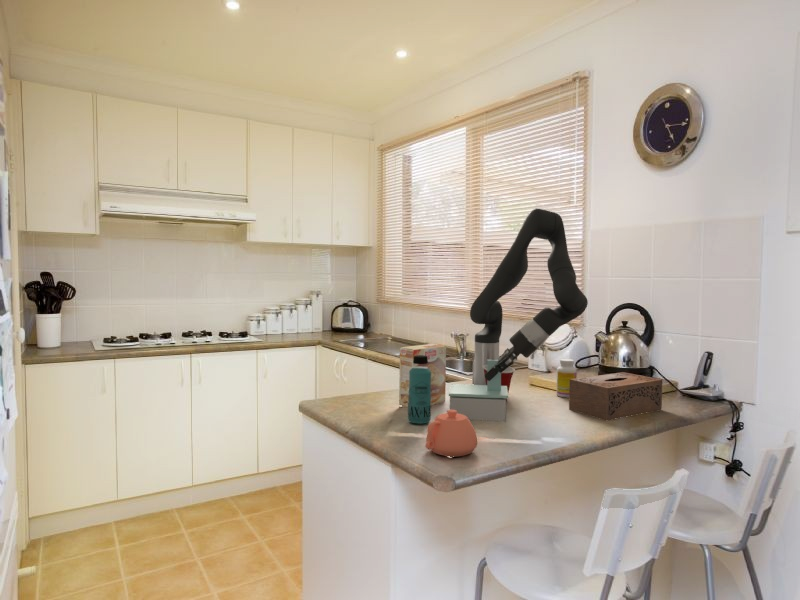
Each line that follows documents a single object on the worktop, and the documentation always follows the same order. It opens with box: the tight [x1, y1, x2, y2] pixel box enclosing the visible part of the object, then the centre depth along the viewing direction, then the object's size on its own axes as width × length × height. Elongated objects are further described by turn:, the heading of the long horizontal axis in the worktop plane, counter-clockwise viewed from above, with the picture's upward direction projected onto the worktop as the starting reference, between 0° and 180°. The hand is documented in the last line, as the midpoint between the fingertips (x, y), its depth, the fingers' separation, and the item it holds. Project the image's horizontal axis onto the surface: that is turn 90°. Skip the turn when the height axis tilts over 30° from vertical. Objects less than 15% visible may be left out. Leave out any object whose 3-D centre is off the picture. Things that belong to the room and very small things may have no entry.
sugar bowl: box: [425, 409, 478, 457], centre depth 126 cm, size 12×14×10 cm
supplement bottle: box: [556, 358, 578, 399], centre depth 186 cm, size 7×7×13 cm
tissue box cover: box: [568, 371, 663, 421], centre depth 167 cm, size 26×14×10 cm, turn 119°
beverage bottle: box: [407, 355, 432, 424], centre depth 148 cm, size 6×7×20 cm
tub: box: [449, 396, 507, 422], centre depth 158 cm, size 16×12×7 cm
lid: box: [448, 360, 509, 399], centre depth 157 cm, size 17×13×11 cm
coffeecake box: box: [398, 343, 447, 408], centre depth 171 cm, size 15×7×20 cm, turn 131°
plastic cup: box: [482, 365, 516, 402], centre depth 176 cm, size 11×11×12 cm
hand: (486, 377), depth 157 cm, fingers closed on lid, 1 cm apart
